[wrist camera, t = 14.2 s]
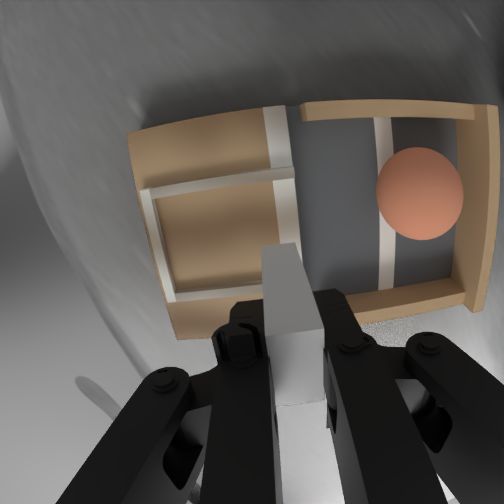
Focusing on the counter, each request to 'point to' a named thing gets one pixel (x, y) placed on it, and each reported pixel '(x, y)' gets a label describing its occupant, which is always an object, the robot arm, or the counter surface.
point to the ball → (419, 193)
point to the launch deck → (214, 209)
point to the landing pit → (367, 211)
